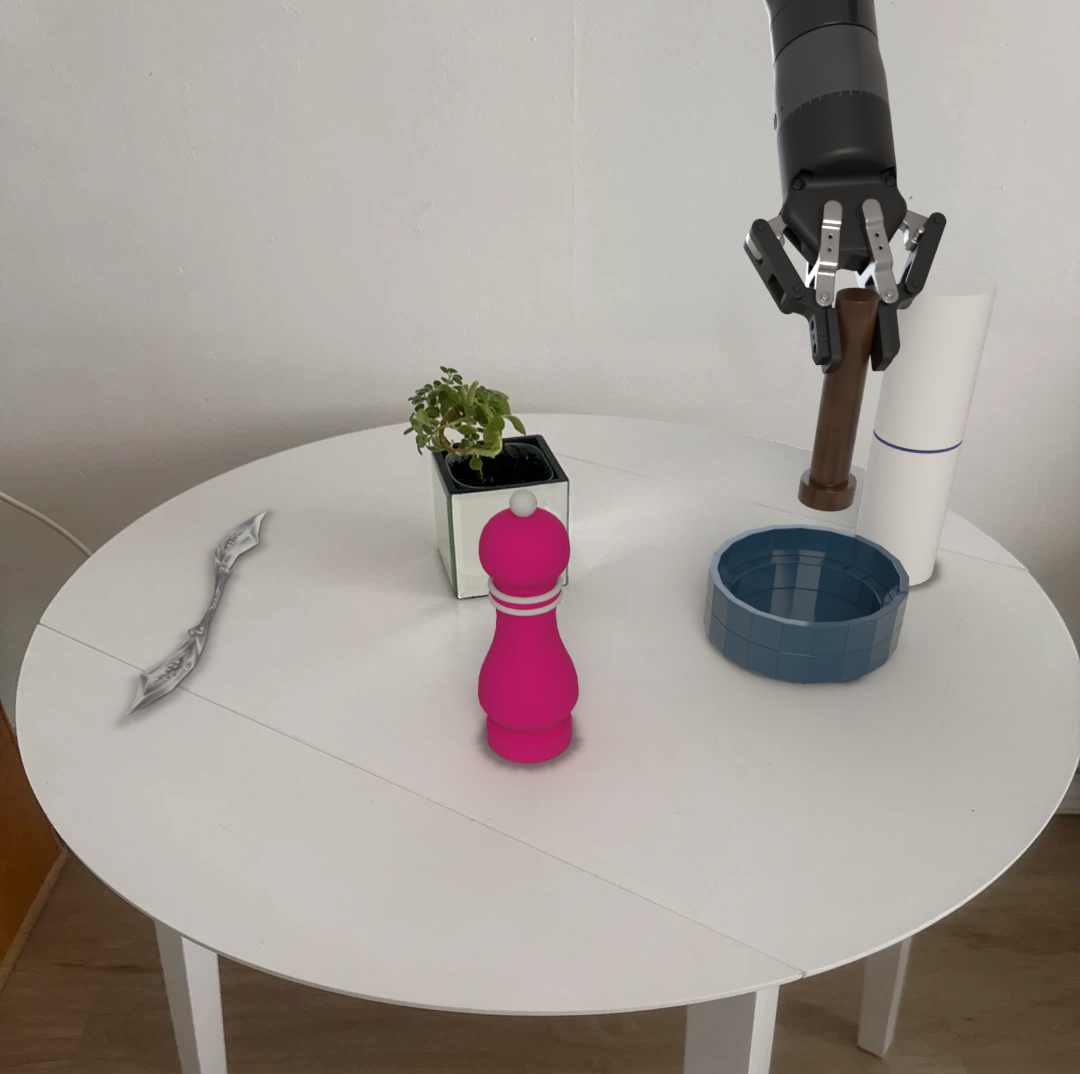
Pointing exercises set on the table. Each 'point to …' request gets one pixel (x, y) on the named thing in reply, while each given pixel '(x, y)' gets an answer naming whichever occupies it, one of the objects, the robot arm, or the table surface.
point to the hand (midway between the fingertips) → (858, 366)
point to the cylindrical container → (925, 416)
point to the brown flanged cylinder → (841, 406)
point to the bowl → (805, 603)
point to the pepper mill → (526, 634)
